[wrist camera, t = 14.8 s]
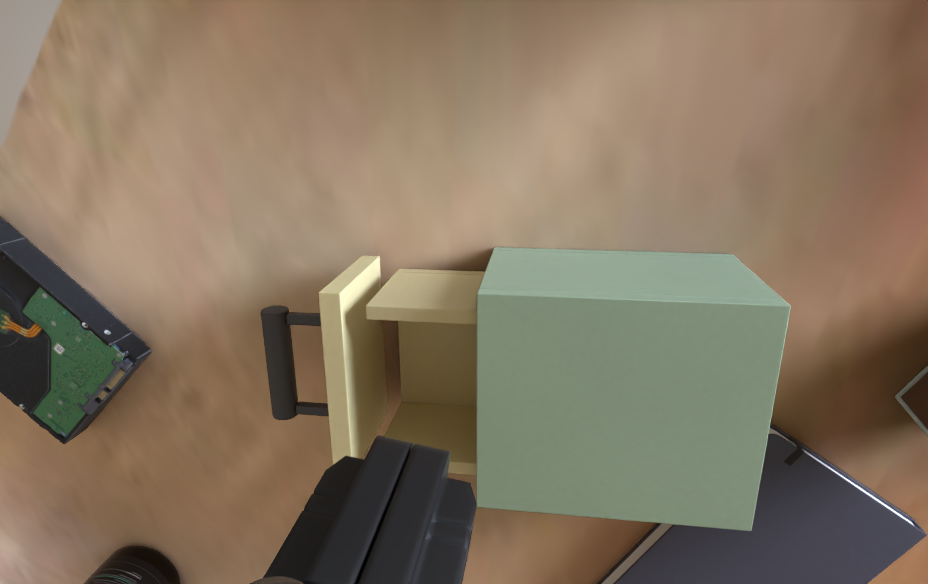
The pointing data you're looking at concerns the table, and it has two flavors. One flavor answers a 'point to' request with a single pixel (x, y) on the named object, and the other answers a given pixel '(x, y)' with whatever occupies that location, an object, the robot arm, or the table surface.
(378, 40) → the table surface
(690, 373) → the cabinet
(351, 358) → the drawer
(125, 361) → the disk drive
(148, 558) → the supplement bottle
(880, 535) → the notebook
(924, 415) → the food container
